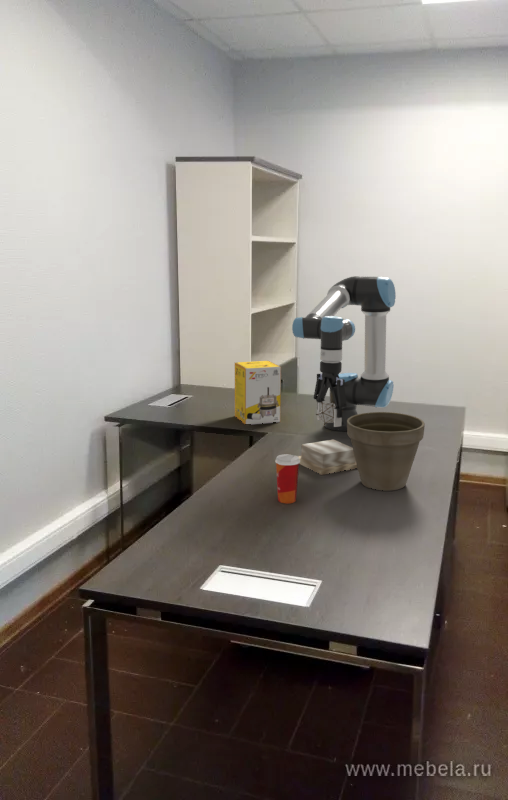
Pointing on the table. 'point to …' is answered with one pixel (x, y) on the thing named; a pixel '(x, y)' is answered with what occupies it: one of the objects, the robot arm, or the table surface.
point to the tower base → (327, 457)
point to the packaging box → (257, 392)
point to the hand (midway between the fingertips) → (329, 423)
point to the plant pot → (384, 447)
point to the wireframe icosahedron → (327, 412)
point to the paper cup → (287, 477)
